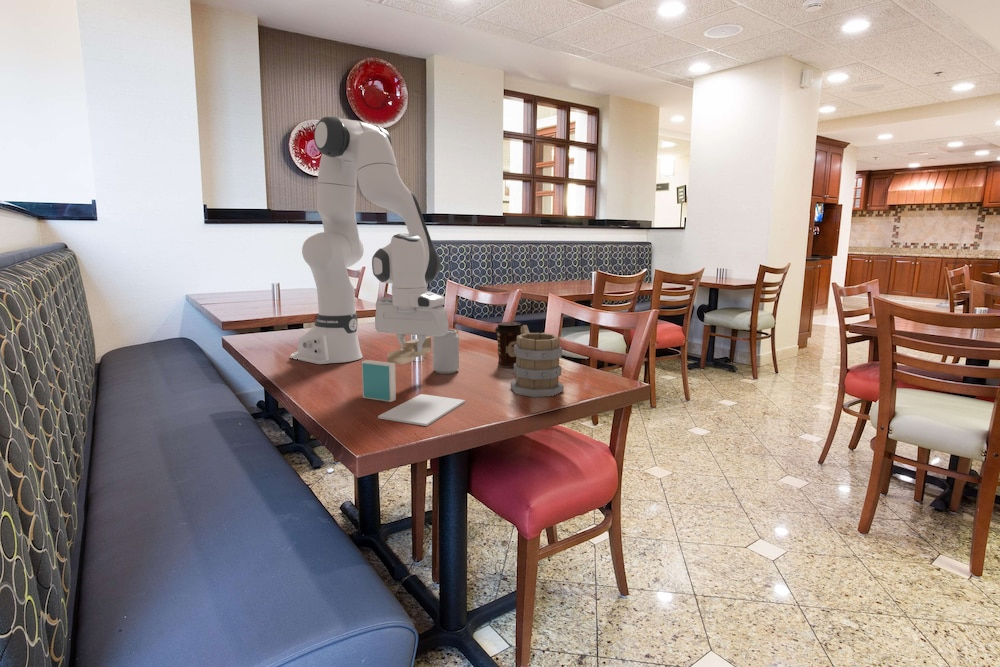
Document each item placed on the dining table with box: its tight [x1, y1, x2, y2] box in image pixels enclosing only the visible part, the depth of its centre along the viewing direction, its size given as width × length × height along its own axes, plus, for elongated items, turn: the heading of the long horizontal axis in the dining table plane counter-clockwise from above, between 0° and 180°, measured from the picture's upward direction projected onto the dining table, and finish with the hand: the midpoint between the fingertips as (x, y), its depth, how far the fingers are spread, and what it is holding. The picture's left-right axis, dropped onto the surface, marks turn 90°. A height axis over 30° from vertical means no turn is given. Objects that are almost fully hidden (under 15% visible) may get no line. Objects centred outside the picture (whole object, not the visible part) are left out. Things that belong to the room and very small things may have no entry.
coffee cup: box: [494, 321, 523, 368], centre depth 165 cm, size 9×8×13 cm
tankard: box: [510, 324, 565, 398], centre depth 143 cm, size 20×13×15 cm, turn 12°
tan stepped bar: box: [386, 336, 432, 365], centre depth 143 cm, size 4×16×4 cm, turn 158°
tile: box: [361, 359, 397, 403], centre depth 132 cm, size 8×2×9 cm, turn 67°
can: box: [432, 328, 460, 375], centre depth 158 cm, size 8×8×12 cm
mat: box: [377, 393, 466, 427], centre depth 124 cm, size 12×18×1 cm, turn 157°
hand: (411, 351), depth 143 cm, fingers closed on tan stepped bar, 2 cm apart
